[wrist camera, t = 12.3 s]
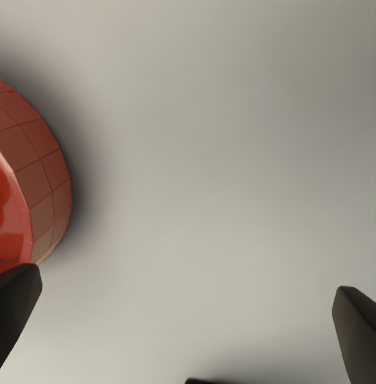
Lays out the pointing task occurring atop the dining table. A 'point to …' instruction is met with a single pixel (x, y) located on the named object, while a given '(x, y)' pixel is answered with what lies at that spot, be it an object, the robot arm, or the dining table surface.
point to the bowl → (29, 184)
